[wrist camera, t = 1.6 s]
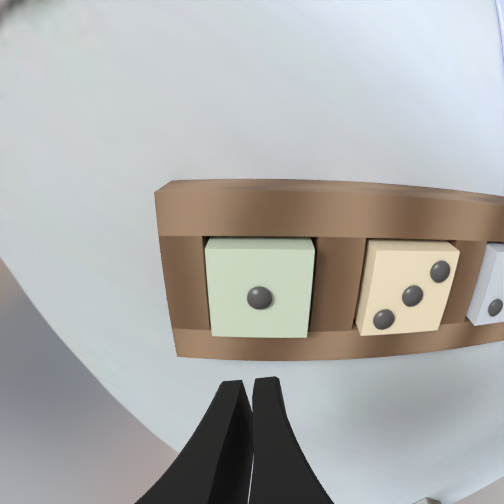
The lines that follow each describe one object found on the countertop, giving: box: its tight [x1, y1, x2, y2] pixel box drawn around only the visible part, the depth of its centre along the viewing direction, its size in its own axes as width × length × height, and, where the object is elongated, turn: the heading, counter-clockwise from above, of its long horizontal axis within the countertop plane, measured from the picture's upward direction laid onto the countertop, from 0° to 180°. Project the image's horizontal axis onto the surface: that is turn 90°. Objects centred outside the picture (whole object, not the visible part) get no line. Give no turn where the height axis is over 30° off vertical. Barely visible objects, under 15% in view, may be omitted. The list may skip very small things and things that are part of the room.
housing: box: [154, 179, 504, 361], centre depth 17 cm, size 26×10×3 cm, turn 90°
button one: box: [205, 236, 315, 338], centre depth 17 cm, size 5×5×3 cm
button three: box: [354, 238, 460, 336], centre depth 16 cm, size 5×5×3 cm
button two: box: [466, 241, 504, 326], centre depth 16 cm, size 5×5×3 cm
